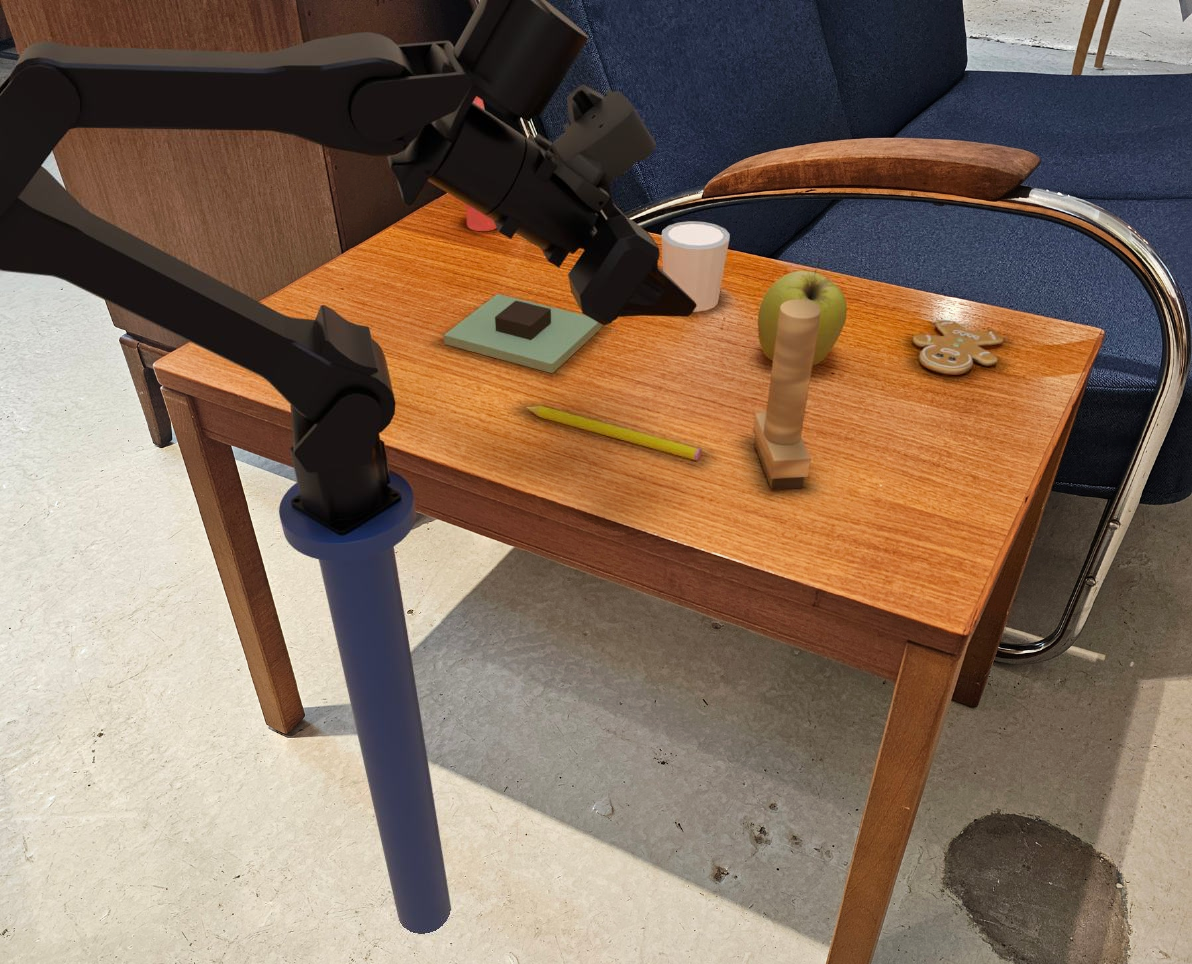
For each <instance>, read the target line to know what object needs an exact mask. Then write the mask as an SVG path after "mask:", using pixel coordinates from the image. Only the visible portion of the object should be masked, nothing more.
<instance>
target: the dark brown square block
mask: <svg viewBox="0 0 1192 964" xmlns="http://www.w3.org/2000/svg"><path fill="white" fill-rule="evenodd" d="M550 323H551V309H549V308H544V307H540V306H536V305H532V304H528V303H524V302H520V301H514V302H513V303H512V304H511V305H509V306H508V307H507V308H506V309H504V310H503V311H502V312H501V313H499V314H498V315H497V316H496V317H495V326H496V331H499V332H503V333H506V334H510V335H514V336H518V337H522V338H526V339H529V340H532V339H533V338H534V337H535V336H536V335H537V334H539V333H540V332H541V331H542V330H543V329H544V328H546V327H547V326H548V325H549V324H550Z"/></svg>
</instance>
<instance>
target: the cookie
mask: <svg viewBox="0 0 1192 964" xmlns="http://www.w3.org/2000/svg"><path fill="white" fill-rule="evenodd" d="M934 326H935V328H936V330H937V331H938V332H940V333H941V335H935V334H916V335H914V336H913V337H912V343H913V344H914V345H915V346H917V347H919V348H922V350H921V351H920V352H919V354H918V361H919V363H920V365H921V366H923V367H924V368H925V369H927V370H930V371H932V372H936V373H939V374H944V375H949V376H950V375H951V376H952V375H953V376H958V375H963V374H965V373H967V372H969V371H970V370H971V369H972V368H973V365H974V362H976V363H977V364H979V365H982V366H985V367H986V366H988V367H989V366H994V365H997V363H998V361H999V359H998V357H997V356H996V354H994V353H992V352H991V351H989V350H987V349H985V348H983V347H987V346H988V347H989V346H996V345H1001V344H1002V343H1004V341H1005V340H1004V338H1003V337H1002V336H1001V335H1000V334H998V333H996V332H994V331H986V330H975V331H974V330H973V331H972V330H967V329H966V328H965V327H963V326H962V325H960V324H959V323H957V322H955V321H953V320H945V319H944V320H937V321H936V322H935V323H934Z"/></svg>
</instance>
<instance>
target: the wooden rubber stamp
mask: <svg viewBox="0 0 1192 964" xmlns="http://www.w3.org/2000/svg"><path fill="white" fill-rule="evenodd" d="M820 314H821V309H820V307H819V306H818V305H817V304H815V303H813V302H810V301H806V300H789V301H786V302H784V303H783V304H782V305H781V306H780V311H779V319H778V326H777V334H776V342H775V349H774V357H773V361H772V366H771V373H770V381H769V389H768V395H767V396H768V397H767V403H766V411H765V412H755V413H754V418H753V426H752V433H753V435H754V440H753V441H754V442H753V445H754V448H755V450H756V452H757V456H758V459H759V461H760V463H761V466H762V468H763V472H764V474H765V477H766V480H767V481H768V484H769V487H770V489H771V490H789V489H803V488H804V483H805V478H807V477H809V471H810V465H811V459H812V458H811V456H810V453H809V451H808V448H807V447H806V444H805V442H804V440H803V438H802V432H803V427H804V420H805V415H806V414H805V413H806V407H807V401H808V394H809V389H810V381H811V376H812V369H813V366H812V364H813V358H814V352H815V345H816V339H817V333H818V326H819V320H820Z"/></svg>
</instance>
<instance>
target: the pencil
mask: <svg viewBox="0 0 1192 964" xmlns="http://www.w3.org/2000/svg"><path fill="white" fill-rule="evenodd" d="M525 408H526V409H527V410H529V411H530V412H531V413H533V414H534V415H535V416H537V417H538V418H542V419H545V420H549V421H552V422H556V423H559V424H563V425H567V426H570V427H574V428H578V429H581V430H584V431H588V432H591V433H596V434H600V435H603V436H607V437H610V438H614V439H617V440H622V441H624V442H628V443H631V444H635V445H639V446H641V447H646V448H650V449H654V450H656V451H661V452H664V453H668V454H671V455H675V456H679V457H682V458H685V459H690V460H693V461H698V460H699V459H700V458H701V457H702V449H701V448H697V447H694V446H690V445H687V444H683V443H679V442H676V441H672V440H668V439H666V438H665V439H664V438H660V437H657V436H654V435H650V434H646V433H643V432H638V431H635V430H631V429H628V428H624V427H621V426H617V425H614V424H609V423H606V422H602V421H599V420H594V419H591V418H587V417H584V416H580V415H576V414H572V413H570V412H566V411H561V410H558V409H554V408H551V407H547V406H543V405H538V406H537V405H536V406H526V407H525Z"/></svg>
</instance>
